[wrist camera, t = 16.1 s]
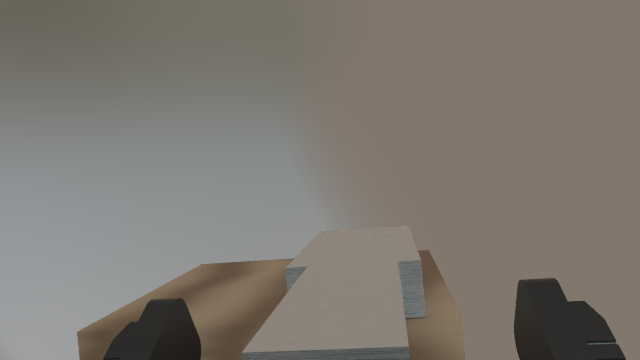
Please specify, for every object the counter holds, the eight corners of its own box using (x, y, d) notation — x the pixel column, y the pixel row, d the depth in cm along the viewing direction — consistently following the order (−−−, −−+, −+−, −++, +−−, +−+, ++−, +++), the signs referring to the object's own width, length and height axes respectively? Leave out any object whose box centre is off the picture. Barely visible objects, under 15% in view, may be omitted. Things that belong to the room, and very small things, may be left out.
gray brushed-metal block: (211, 454, 12) (202, 354, 12) (323, 267, 34) (320, 231, 34) (462, 452, 11) (453, 344, 11) (411, 262, 33) (408, 225, 33)
